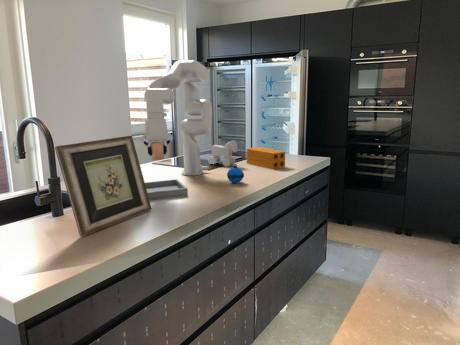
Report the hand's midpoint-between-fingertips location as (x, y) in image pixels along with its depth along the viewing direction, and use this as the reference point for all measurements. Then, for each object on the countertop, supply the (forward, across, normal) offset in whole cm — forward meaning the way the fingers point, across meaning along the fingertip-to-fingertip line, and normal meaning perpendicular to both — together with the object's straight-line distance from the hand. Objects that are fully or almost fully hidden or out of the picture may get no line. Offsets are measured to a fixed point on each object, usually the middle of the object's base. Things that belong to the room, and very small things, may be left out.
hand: (157, 154), depth 174 cm
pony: (+18, -50, -48) cm, 71 cm away
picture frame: (+19, +24, +34) cm, 46 cm away
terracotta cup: (+2, 0, 0) cm, 2 cm away
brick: (+18, -74, -37) cm, 84 cm away
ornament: (+18, -40, -1) cm, 43 cm away
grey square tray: (+18, 0, +3) cm, 18 cm away
